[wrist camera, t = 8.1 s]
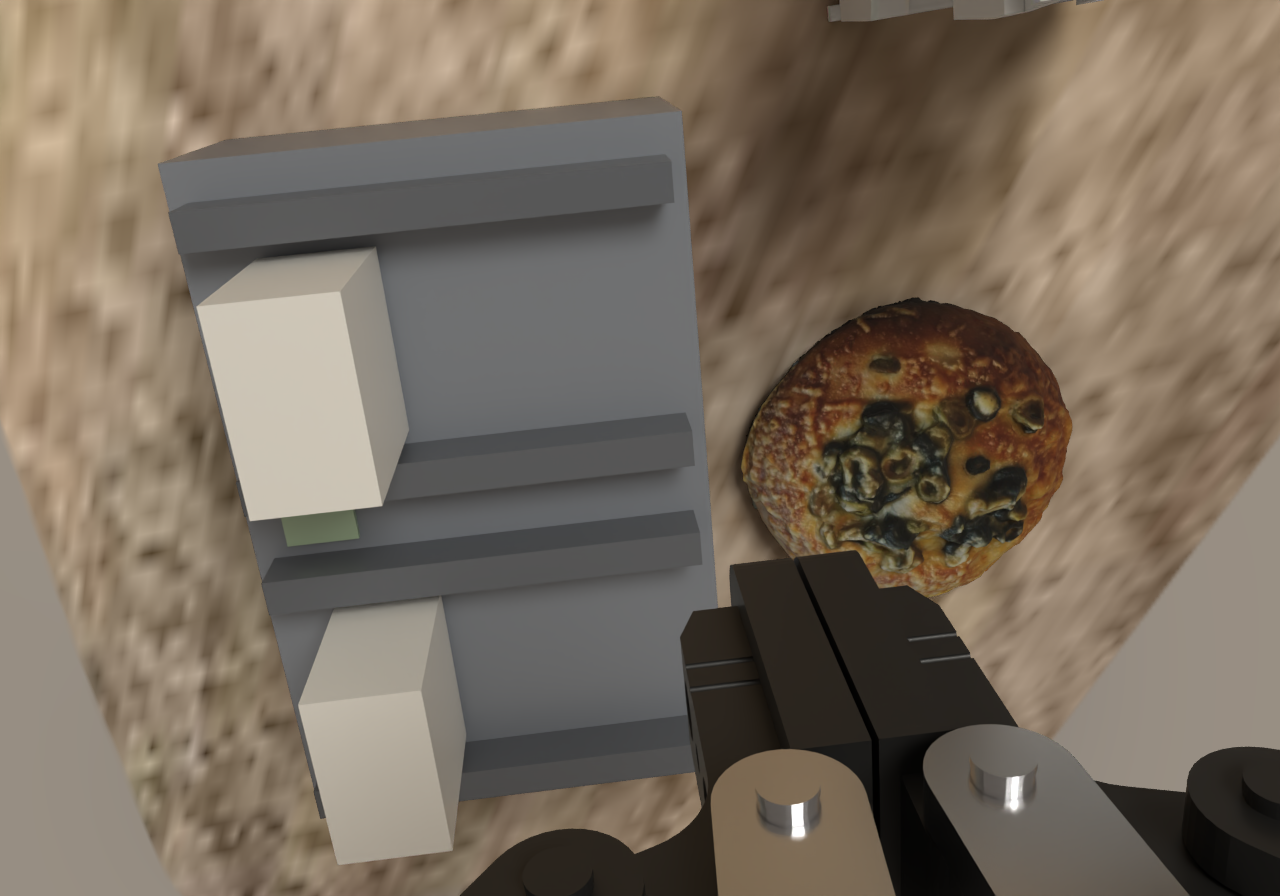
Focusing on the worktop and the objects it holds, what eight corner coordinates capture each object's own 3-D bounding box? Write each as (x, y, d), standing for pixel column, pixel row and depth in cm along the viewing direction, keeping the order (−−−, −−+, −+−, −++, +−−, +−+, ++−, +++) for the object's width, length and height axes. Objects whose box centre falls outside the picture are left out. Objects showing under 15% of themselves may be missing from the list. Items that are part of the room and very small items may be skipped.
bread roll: (1034, 249, 35) (1103, 308, 31) (1056, 520, 41) (1116, 602, 36) (705, 339, 36) (727, 409, 32) (770, 593, 41) (796, 682, 37)
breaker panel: (659, 96, 33) (688, 115, 26) (704, 659, 40) (736, 793, 33) (225, 139, 32) (135, 171, 25) (352, 701, 39) (310, 847, 32)
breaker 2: (440, 590, 31) (421, 690, 26) (466, 734, 33) (452, 850, 28) (335, 603, 31) (298, 705, 26) (367, 746, 33) (337, 865, 28)
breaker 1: (375, 246, 27) (339, 291, 23) (409, 429, 29) (382, 505, 25) (256, 258, 27) (196, 306, 23) (298, 442, 29) (249, 521, 24)
